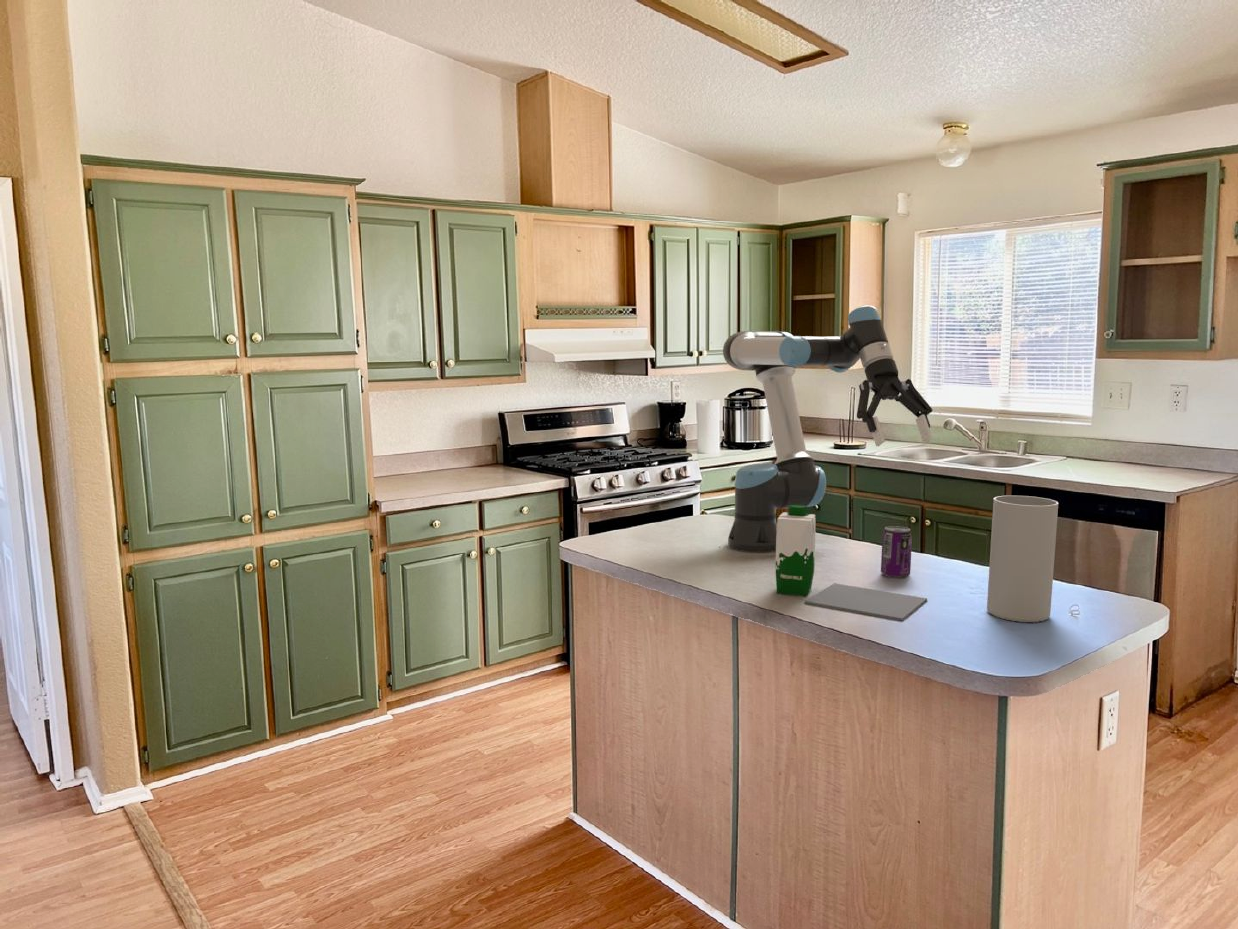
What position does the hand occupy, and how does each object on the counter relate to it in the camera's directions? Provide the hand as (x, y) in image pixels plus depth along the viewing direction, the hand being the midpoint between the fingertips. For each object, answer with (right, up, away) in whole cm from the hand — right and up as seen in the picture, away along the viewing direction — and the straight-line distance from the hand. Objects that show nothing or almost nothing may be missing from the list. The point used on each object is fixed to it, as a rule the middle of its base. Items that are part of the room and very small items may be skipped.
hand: (904, 442), depth 212 cm
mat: (-12, -36, -10) cm, 40 cm away
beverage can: (+2, -33, +13) cm, 36 cm away
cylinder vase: (+18, -38, -19) cm, 46 cm away
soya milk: (-27, -35, -2) cm, 44 cm away
